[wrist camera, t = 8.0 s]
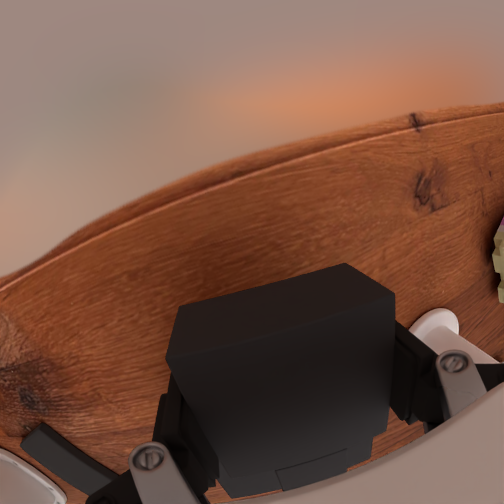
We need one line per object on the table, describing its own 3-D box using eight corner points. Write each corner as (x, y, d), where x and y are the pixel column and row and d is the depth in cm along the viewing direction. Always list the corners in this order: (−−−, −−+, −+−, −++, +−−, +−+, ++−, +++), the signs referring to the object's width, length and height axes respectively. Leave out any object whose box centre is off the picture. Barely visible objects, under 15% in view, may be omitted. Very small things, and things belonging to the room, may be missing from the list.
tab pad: (178, 305, 10) (164, 358, 7) (345, 261, 10) (396, 292, 7) (239, 450, 12) (246, 501, 9) (354, 416, 13) (381, 460, 9)
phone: (38, 429, 15) (163, 506, 19) (43, 420, 16) (164, 497, 20) (18, 446, 15) (125, 515, 19) (22, 439, 17) (126, 507, 20)
